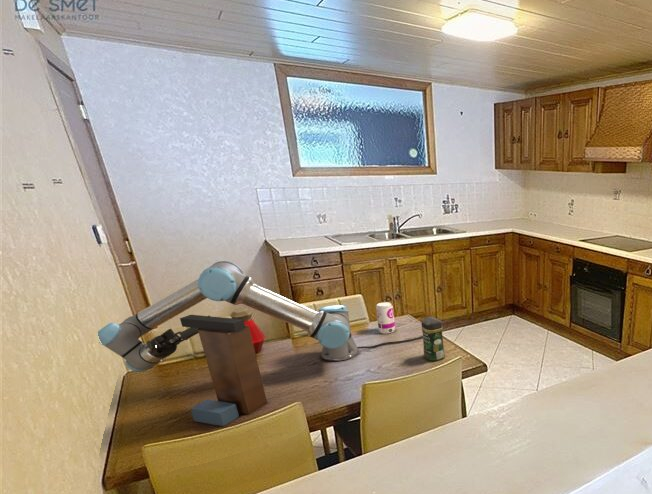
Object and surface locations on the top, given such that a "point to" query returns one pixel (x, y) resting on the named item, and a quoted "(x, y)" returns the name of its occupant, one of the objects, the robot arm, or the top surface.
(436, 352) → the coffee jar
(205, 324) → the back pad
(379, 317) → the supplement can
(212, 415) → the base pad
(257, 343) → the bottle
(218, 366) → the walnut post
